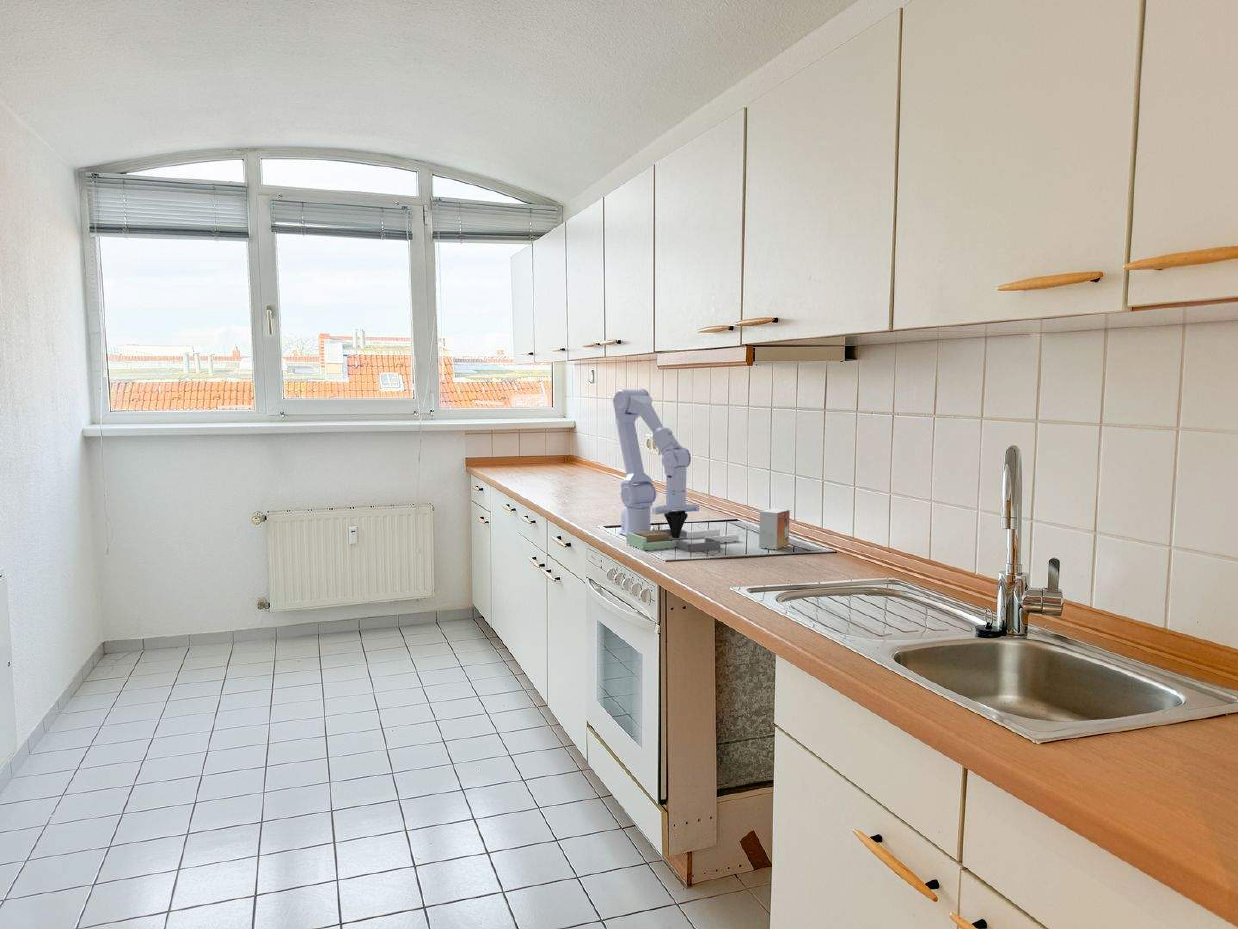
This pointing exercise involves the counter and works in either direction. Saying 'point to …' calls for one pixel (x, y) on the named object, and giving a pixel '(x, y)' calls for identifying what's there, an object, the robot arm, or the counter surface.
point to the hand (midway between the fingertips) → (675, 537)
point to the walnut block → (654, 536)
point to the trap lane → (708, 543)
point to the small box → (774, 528)
